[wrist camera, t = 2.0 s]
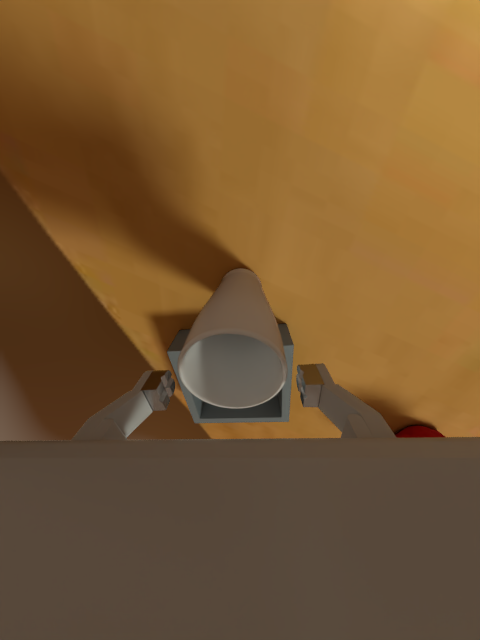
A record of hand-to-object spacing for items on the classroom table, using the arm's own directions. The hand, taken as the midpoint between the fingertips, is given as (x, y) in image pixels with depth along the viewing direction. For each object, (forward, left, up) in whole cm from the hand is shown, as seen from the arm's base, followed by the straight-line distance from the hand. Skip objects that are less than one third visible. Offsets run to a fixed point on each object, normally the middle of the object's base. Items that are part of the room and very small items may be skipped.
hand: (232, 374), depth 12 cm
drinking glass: (-1, 0, -15) cm, 15 cm away
